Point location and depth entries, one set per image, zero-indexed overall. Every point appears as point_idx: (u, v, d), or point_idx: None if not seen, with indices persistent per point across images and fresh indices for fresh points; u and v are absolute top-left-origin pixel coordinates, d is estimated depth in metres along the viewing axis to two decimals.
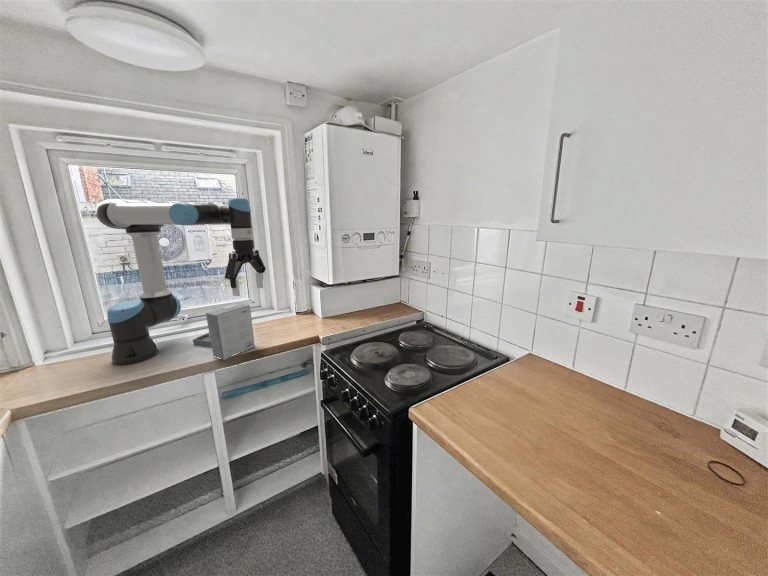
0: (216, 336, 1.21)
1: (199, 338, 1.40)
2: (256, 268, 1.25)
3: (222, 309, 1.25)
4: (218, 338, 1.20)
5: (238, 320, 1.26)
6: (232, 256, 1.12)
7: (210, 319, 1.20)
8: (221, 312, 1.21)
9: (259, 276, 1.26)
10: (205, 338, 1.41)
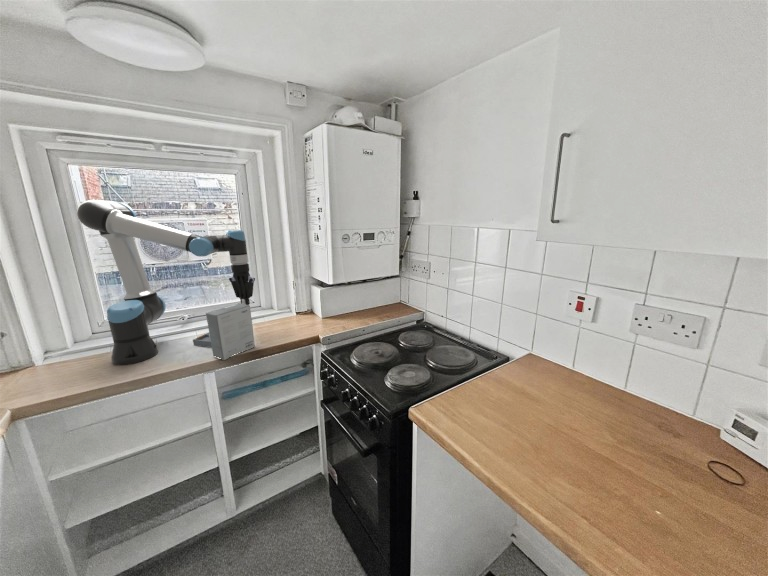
0: (216, 336, 1.21)
1: (199, 338, 1.40)
2: None
3: (222, 309, 1.25)
4: (218, 338, 1.20)
5: (238, 320, 1.26)
6: None
7: (210, 319, 1.20)
8: (221, 312, 1.21)
9: None
10: (205, 338, 1.41)
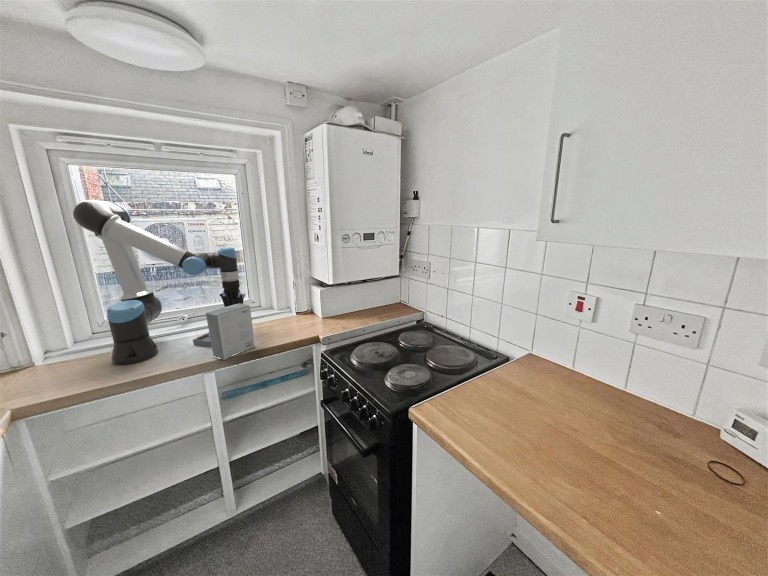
0: (216, 336, 1.21)
1: (199, 338, 1.40)
2: None
3: (222, 309, 1.25)
4: (218, 338, 1.20)
5: (238, 320, 1.26)
6: None
7: (210, 319, 1.20)
8: (221, 312, 1.21)
9: None
10: (205, 338, 1.41)
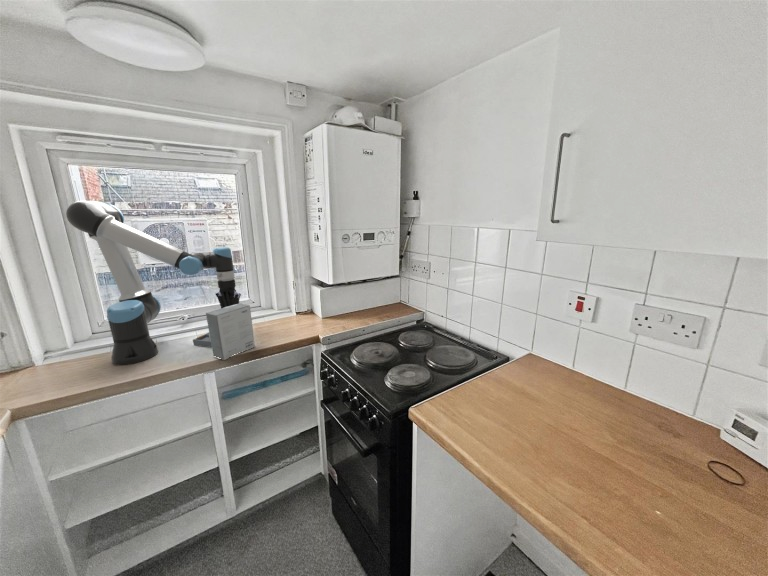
0: (216, 336, 1.21)
1: (199, 338, 1.40)
2: None
3: (222, 309, 1.25)
4: (218, 338, 1.20)
5: (238, 320, 1.26)
6: None
7: (210, 319, 1.20)
8: (221, 312, 1.21)
9: None
10: (205, 338, 1.41)
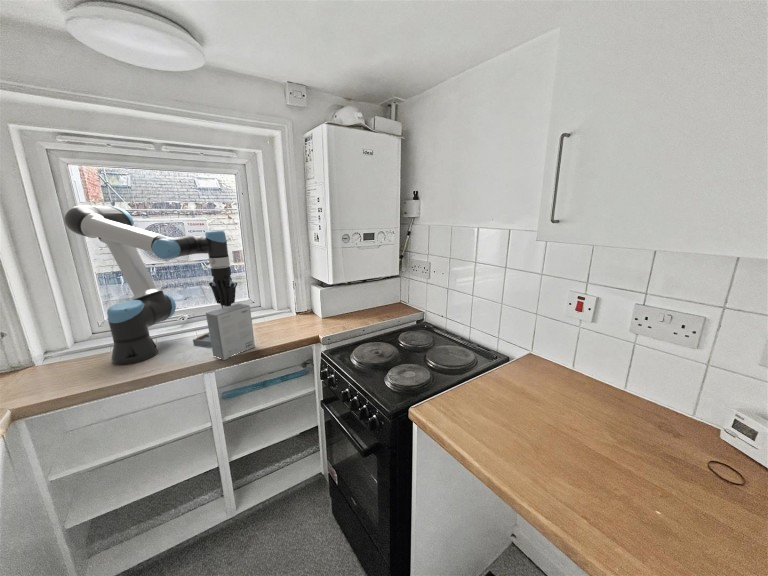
0: (216, 336, 1.21)
1: (199, 338, 1.40)
2: None
3: (222, 309, 1.25)
4: (218, 338, 1.20)
5: (238, 320, 1.26)
6: None
7: (210, 319, 1.20)
8: (221, 312, 1.21)
9: None
10: (205, 338, 1.41)
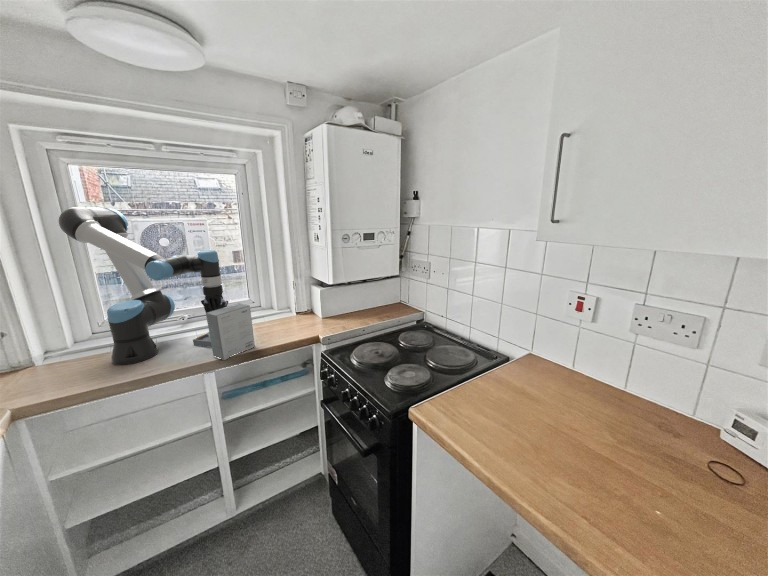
0: (216, 336, 1.21)
1: (199, 338, 1.40)
2: None
3: (222, 309, 1.25)
4: (218, 338, 1.20)
5: (238, 320, 1.26)
6: None
7: (210, 319, 1.20)
8: (221, 312, 1.21)
9: None
10: (205, 338, 1.41)
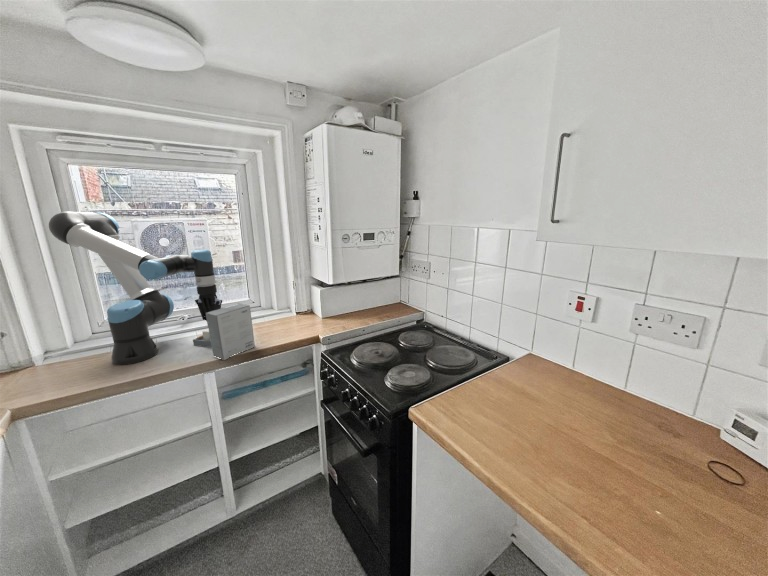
0: (216, 336, 1.21)
1: (199, 338, 1.40)
2: None
3: (222, 309, 1.25)
4: (218, 338, 1.20)
5: (238, 320, 1.26)
6: None
7: (210, 319, 1.20)
8: (221, 312, 1.21)
9: None
10: None
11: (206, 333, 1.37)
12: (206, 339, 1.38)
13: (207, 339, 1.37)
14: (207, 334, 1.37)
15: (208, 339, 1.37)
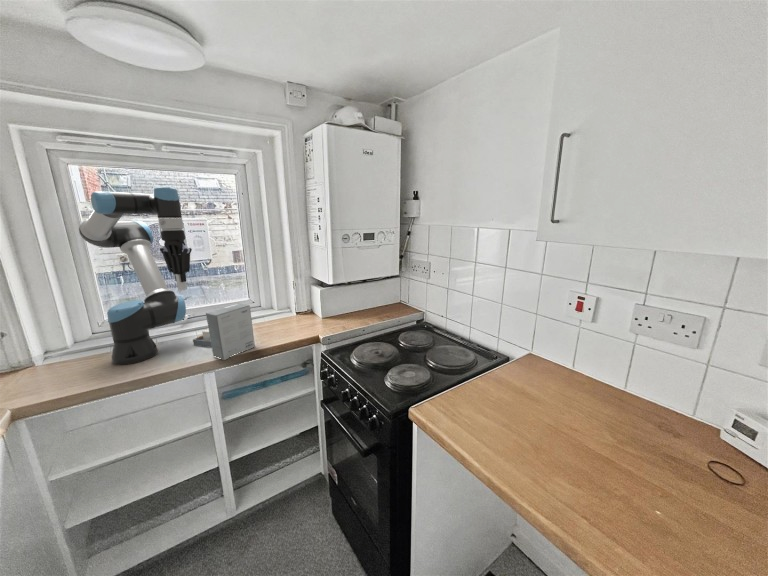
0: (216, 336, 1.21)
1: (199, 338, 1.40)
2: None
3: (222, 309, 1.25)
4: (218, 338, 1.20)
5: (238, 320, 1.26)
6: None
7: (210, 319, 1.20)
8: (221, 312, 1.21)
9: None
10: None
11: (206, 333, 1.37)
12: (206, 339, 1.38)
13: (207, 339, 1.37)
14: (207, 334, 1.37)
15: (208, 339, 1.37)
